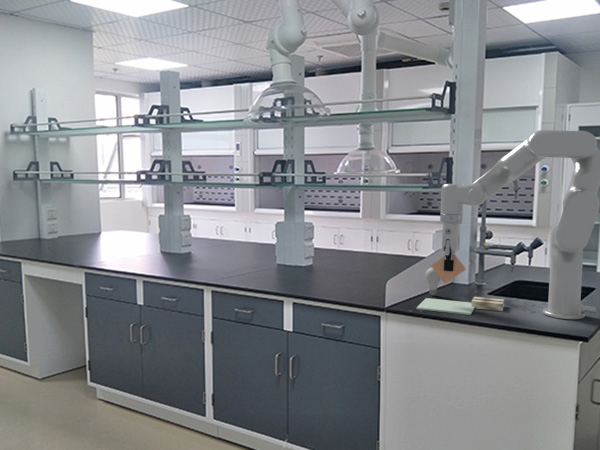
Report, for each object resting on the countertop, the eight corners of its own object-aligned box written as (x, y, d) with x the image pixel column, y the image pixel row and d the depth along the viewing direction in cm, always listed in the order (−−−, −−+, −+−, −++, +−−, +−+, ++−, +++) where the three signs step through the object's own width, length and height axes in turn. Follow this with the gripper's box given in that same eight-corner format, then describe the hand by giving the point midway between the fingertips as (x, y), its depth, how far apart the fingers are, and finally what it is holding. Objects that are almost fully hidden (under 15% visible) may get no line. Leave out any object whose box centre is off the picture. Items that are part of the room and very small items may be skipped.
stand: (503, 306, 190) (504, 299, 190) (502, 311, 183) (502, 304, 183) (473, 303, 194) (474, 296, 194) (471, 307, 187) (471, 300, 187)
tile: (445, 283, 192) (466, 268, 189) (444, 284, 190) (465, 269, 187) (431, 265, 193) (452, 250, 190) (430, 265, 192) (451, 251, 189)
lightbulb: (422, 296, 206) (423, 267, 205) (428, 293, 211) (428, 265, 210) (437, 298, 202) (438, 269, 201) (443, 295, 207) (444, 267, 206)
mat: (476, 304, 192) (476, 303, 192) (470, 315, 178) (470, 313, 178) (426, 299, 200) (426, 298, 200) (416, 309, 185) (416, 307, 185)
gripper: (458, 221, 180) (456, 275, 182) (465, 218, 194) (462, 268, 196) (436, 219, 183) (434, 273, 185) (444, 217, 197) (442, 266, 199)
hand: (448, 270), depth 190 cm, fingers closed on tile, 1 cm apart
